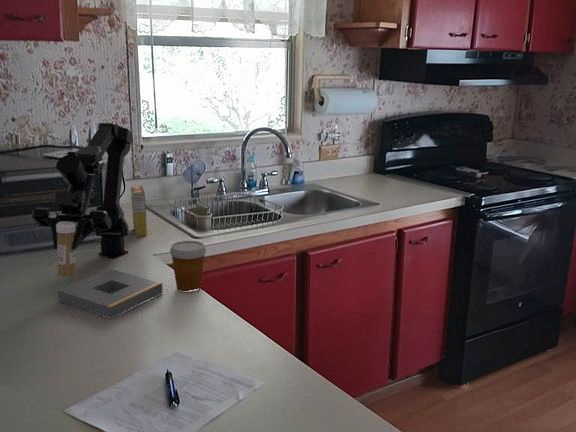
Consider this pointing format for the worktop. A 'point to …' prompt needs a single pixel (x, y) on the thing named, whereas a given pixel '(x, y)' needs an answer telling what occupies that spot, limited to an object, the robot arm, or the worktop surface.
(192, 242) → the disposable coffee cup
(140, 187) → the candy box
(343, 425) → the worktop surface
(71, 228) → the amber pill bottle
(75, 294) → the socket plate
